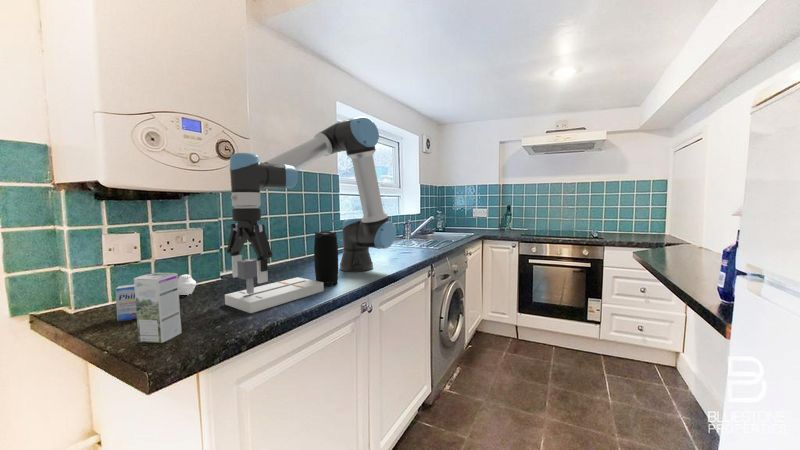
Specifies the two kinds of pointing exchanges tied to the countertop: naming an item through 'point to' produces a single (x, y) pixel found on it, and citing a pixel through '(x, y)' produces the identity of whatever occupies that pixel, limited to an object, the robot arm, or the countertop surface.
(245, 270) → the fader tab
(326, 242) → the portable speaker
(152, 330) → the syrup box
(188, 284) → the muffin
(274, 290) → the fader console
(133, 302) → the medicine box
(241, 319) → the countertop surface
